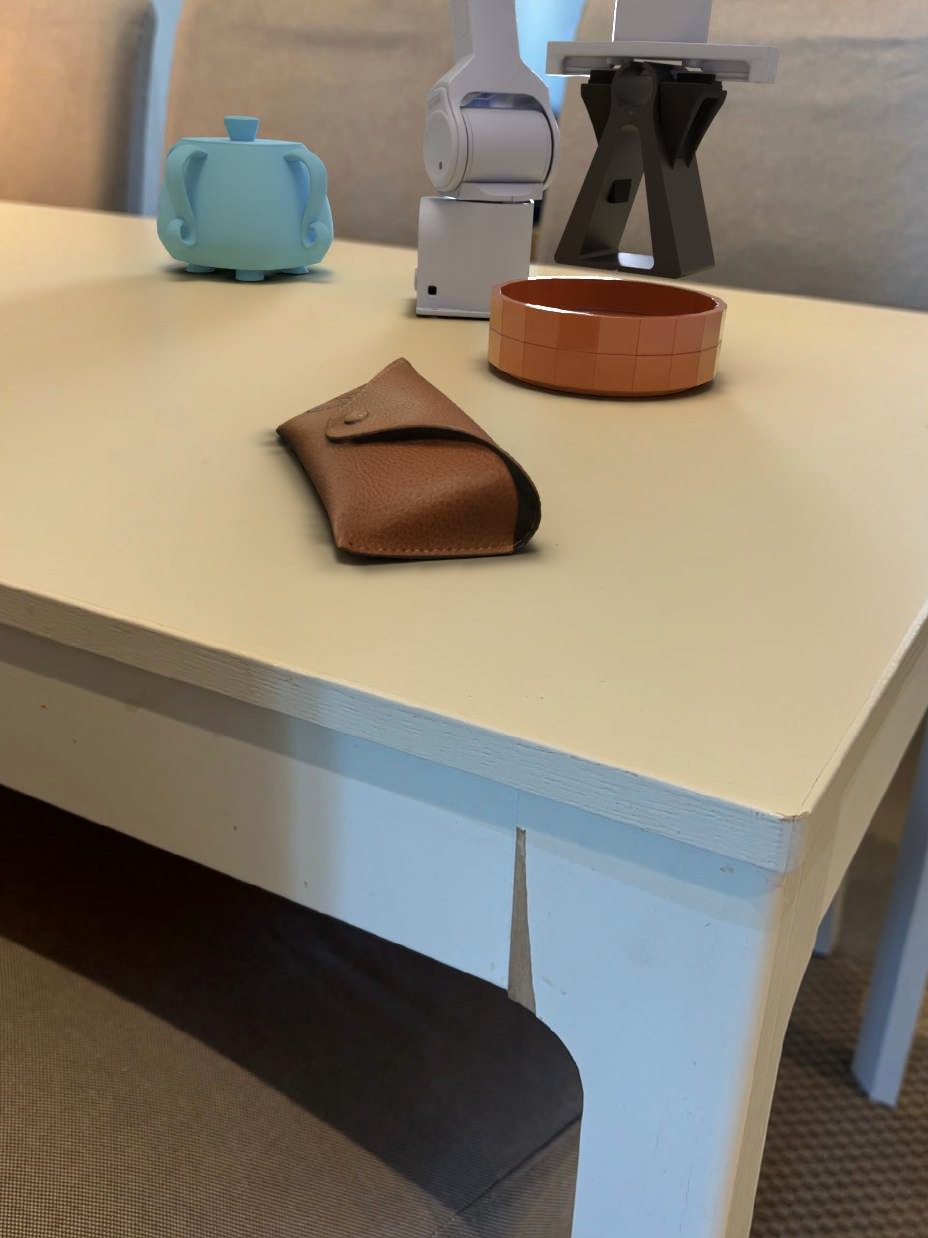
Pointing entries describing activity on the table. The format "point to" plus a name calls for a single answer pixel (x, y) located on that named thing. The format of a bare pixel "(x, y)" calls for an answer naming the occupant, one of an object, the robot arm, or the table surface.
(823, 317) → the table surface
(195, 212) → the decorative pot
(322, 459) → the sunglasses case
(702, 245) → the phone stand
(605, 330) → the bowl
